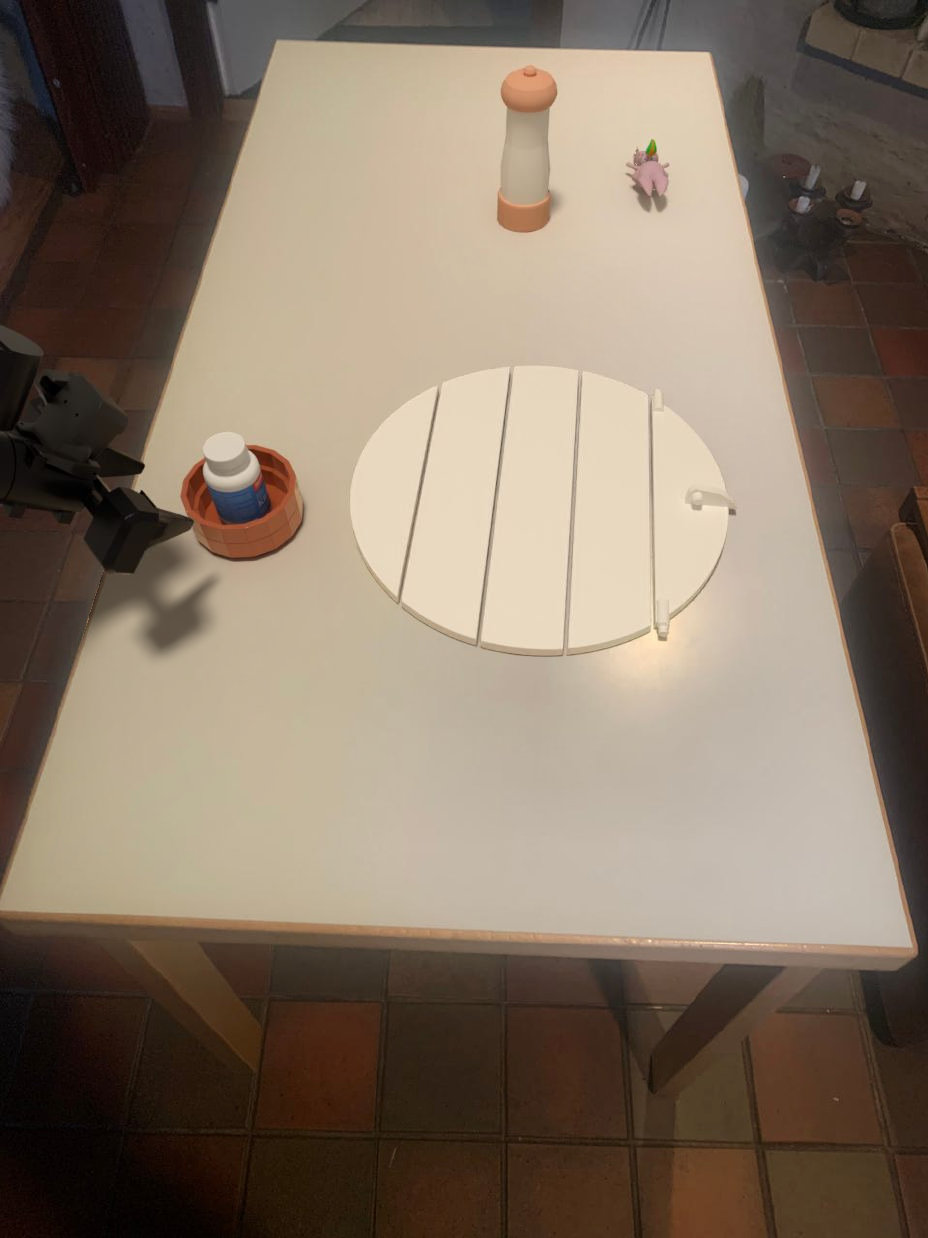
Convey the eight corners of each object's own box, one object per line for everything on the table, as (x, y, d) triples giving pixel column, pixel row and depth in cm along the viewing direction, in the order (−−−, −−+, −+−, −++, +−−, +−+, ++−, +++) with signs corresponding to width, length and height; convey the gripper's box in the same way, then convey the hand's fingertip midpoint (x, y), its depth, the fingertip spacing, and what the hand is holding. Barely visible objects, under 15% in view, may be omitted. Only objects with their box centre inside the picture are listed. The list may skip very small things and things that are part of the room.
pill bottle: (276, 529, 86) (256, 461, 78) (223, 540, 85) (197, 473, 77) (269, 491, 89) (248, 421, 80) (218, 501, 88) (191, 432, 80)
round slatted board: (723, 385, 98) (730, 361, 95) (748, 675, 76) (758, 655, 73) (384, 363, 101) (381, 339, 98) (315, 636, 79) (309, 615, 76)
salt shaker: (544, 201, 120) (554, 50, 104) (553, 230, 116) (565, 78, 100) (493, 205, 119) (496, 54, 103) (500, 234, 115) (504, 82, 99)
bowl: (174, 544, 85) (159, 511, 81) (228, 468, 91) (216, 434, 87) (273, 573, 83) (262, 541, 79) (321, 493, 89) (314, 460, 85)
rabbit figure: (621, 168, 127) (630, 207, 116) (626, 125, 122) (636, 161, 112) (662, 169, 127) (675, 208, 116) (669, 125, 122) (683, 161, 112)
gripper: (91, 444, 58) (260, 479, 71) (-16, 316, 66) (153, 369, 79) (32, 572, 62) (203, 583, 75) (-62, 436, 70) (107, 467, 83)
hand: (166, 495), depth 78 cm, fingers open, 9 cm apart
